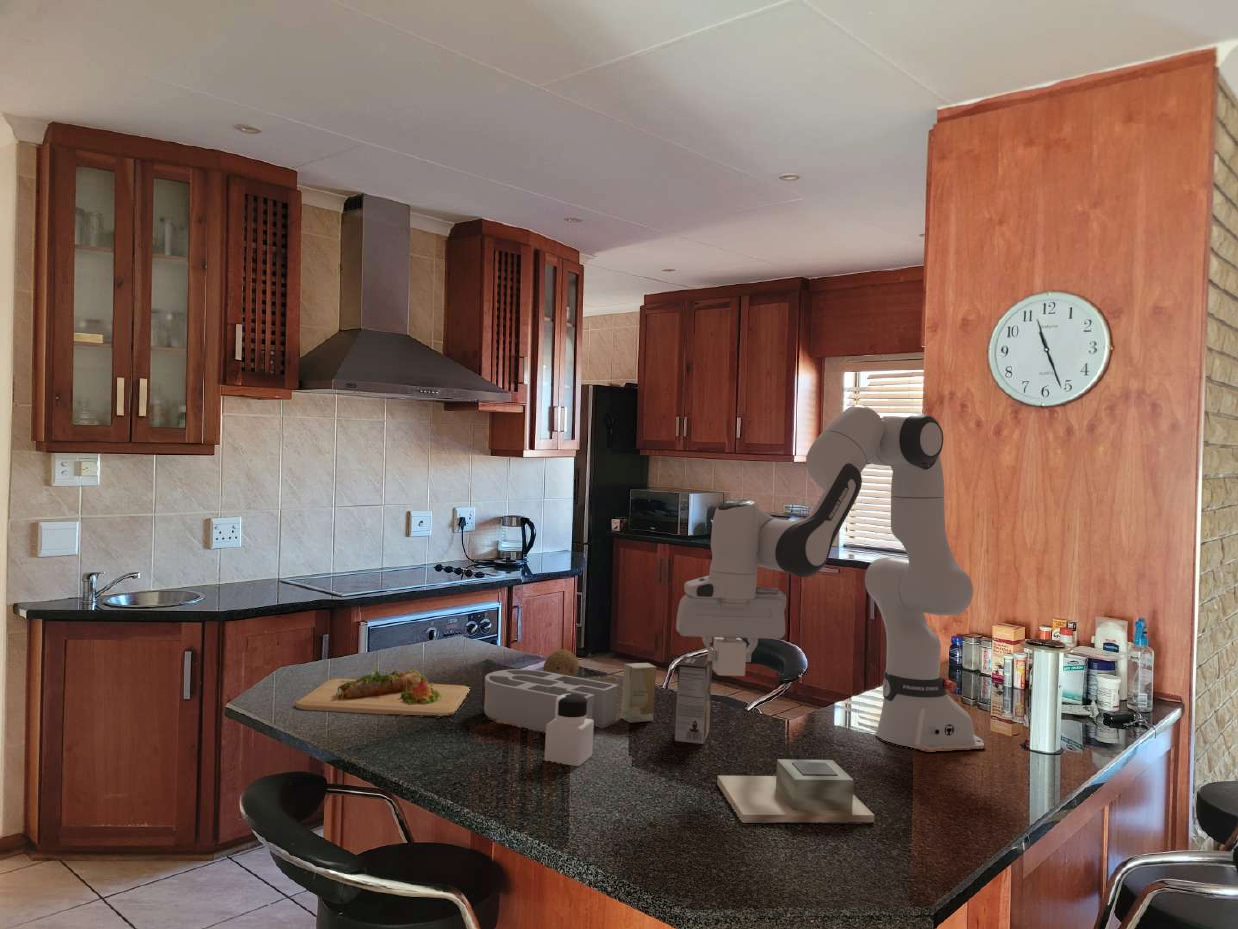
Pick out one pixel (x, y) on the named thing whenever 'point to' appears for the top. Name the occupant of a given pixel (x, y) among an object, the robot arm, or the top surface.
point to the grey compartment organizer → (544, 697)
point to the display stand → (796, 794)
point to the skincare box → (638, 692)
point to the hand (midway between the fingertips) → (729, 661)
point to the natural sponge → (562, 663)
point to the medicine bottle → (569, 732)
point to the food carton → (693, 699)
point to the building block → (729, 656)
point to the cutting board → (386, 695)
